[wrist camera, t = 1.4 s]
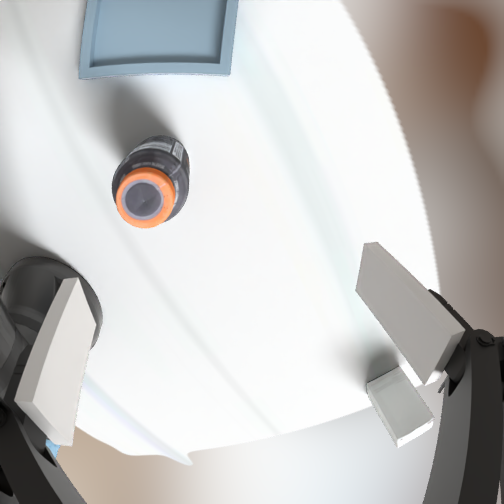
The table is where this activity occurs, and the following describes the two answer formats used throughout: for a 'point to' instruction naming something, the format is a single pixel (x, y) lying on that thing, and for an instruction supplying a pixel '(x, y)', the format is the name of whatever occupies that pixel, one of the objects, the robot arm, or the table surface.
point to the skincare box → (399, 406)
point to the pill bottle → (152, 182)
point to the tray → (157, 37)
